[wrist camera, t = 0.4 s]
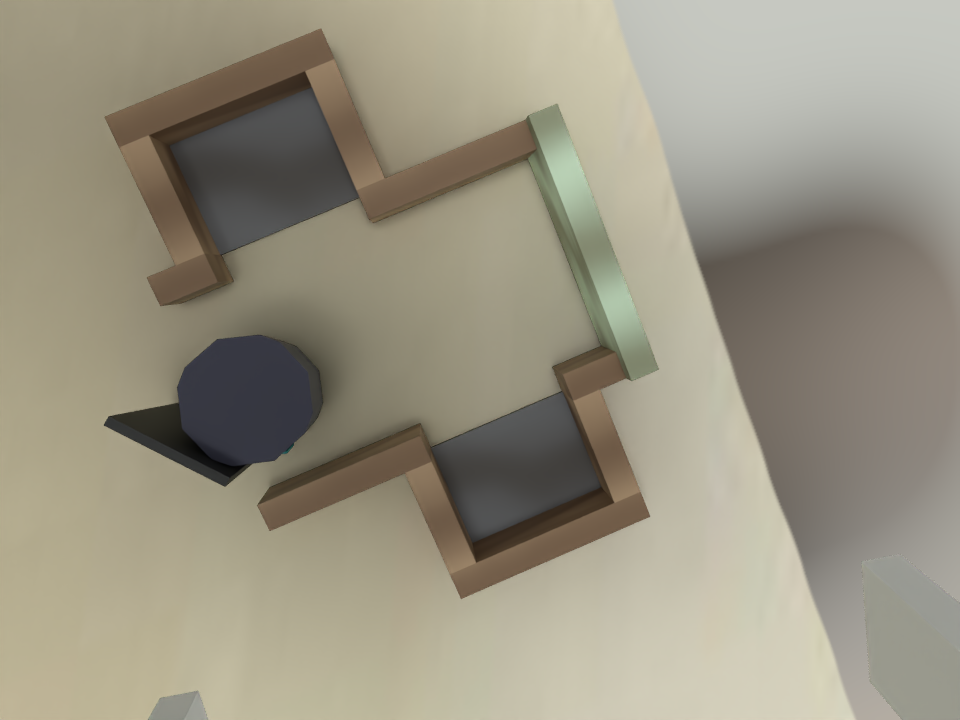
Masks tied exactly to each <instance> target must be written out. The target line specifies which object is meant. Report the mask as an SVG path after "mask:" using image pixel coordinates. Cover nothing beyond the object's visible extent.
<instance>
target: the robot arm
mask: <svg viewBox="0 0 960 720" xmlns="http://www.w3.org/2000/svg"><path fill="white" fill-rule="evenodd" d="M861 564H862V578H863V592H864V606H865V621H866V635H867V650H868V662H869V663H868V664H869V678H870V682H871V684H872V685H873V686H874V687H875V688H876V690H877V691H878V692H879V693H880V694H881V695H882V697H883V698H884V699H885V700H886V702H887V703H888V704H889V705H890V706H891V707H892V709H893V710H894V711H895V712H896V713H897V714H898V716H899V717H900V718H901V719H902V720H960V602H958V601H957V600H956V599H955V598H953V597H952V596H951V595H950V594H949V593H947V592H946V591H945V590H944V589H942V588H941V587H940V586H939V585H938V584H936V583H935V582H934V581H933V580H931V579H930V578H929V577H928V576H927V575H925V574H924V573H923V572H922V571H920V570H919V569H918V568H917V567H916V566H914V565H913V564H912V563H911V562H909V561H908V560H907V559H906V558H904V557H903V556H902V555H901V554H898V555H893V556H888V557H882V558H878V559H872V560H867V561H862V562H861ZM148 720H208V717H207V714H206V711H205V708H204V705H203V703H202V700H201V697H200V694H199V691H194V692H189V693H184V694H179V695H174V696H169V697H163V698H160V699H159V701H158V703H157V704H156V706H155V708H154V710H153V712H152V713H151V715H150V717H149V719H148Z"/></svg>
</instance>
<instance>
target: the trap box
mask: <svg viewBox="0 0 960 720" xmlns="http://www.w3.org/2000/svg"><path fill="white" fill-rule="evenodd" d="M105 119H106V121H107V123H108V125H109V127H110V130H111V132H112V134H113V136H114V138H115V140H116V142H117V144H118V146H119V148H120V150H121V153H122V155H123V157H124V159H125V161H126V163H127V165H128V167H129V169H130V171H131V173H132V176H133V178H134V180H135V182H136V184H137V186H138V188H139V190H140V192H141V194H142V196H143V199H144V201H145V203H146V205H147V207H148V209H149V211H150V213H151V215H152V217H153V220H154V222H155V224H156V226H157V228H158V230H159V232H160V234H161V236H162V238H163V240H164V243H165V245H166V247H167V249H168V251H169V253H170V255H171V257H172V259H173V261H174V263H175V266H173V267H171V268H168V269H166V270H163V271H161V272H159V273H156V274H154V275H151V276H149V277H147V279H148V281H149V283H150V285H151V288H152V290H153V292H154V294H155V296H156V298H157V300H158V302H159V304H160V306H165V305H173V304H180V303H183V302H186V301H188V300H190V299H193V298H195V297H198V296H200V295H202V294H205V293H207V292H210V291H212V290H214V289H217V288H219V287H221V286H224V285H226V284H229V283H231V282H233V279H232V277H231V275H230V272H229V270H228V268H227V266H226V264H225V262H224V260H223V257H222V255H223V254H225V253H227V252H230V251H232V250H235V249H237V248H239V247H242V246H244V245H247V244H249V243H251V242H254V241H256V240H259V239H261V238H263V237H266V236H268V235H271V234H273V233H275V232H278V231H280V230H283V229H285V228H287V227H290V226H292V225H295V224H297V223H299V222H302V221H304V220H307V219H309V218H311V217H314V216H316V215H319V214H321V213H323V212H326V211H328V210H331V209H333V208H335V207H338V206H340V205H343V204H345V203H347V202H350V201H352V200H355V199H357V198H360V199H361V202H362V204H363V206H364V209H365V211H366V213H367V215H368V218H369V220H370V221H371V222H372V223H375V222H377V221H380V220H382V219H384V218H387V217H389V216H392V215H394V214H396V213H399V212H401V211H403V210H406V209H408V208H411V207H413V206H415V205H418V204H420V203H423V202H425V201H427V200H430V199H432V198H435V197H437V196H439V195H442V194H444V193H447V192H449V191H451V190H454V189H456V188H459V187H461V186H463V185H466V184H468V183H471V182H473V181H475V180H478V179H480V178H483V177H485V176H487V175H490V174H492V173H494V172H497V171H499V170H502V169H504V168H506V167H509V166H511V165H514V164H516V163H518V162H521V161H523V160H526V159H528V160H529V163H530V165H531V168H532V170H533V173H534V175H535V178H536V180H537V183H538V185H539V188H540V191H541V193H542V196H543V198H544V201H545V203H546V206H547V208H548V211H549V213H550V216H551V219H552V221H553V224H554V226H555V229H556V231H557V234H558V236H559V239H560V242H561V244H562V247H563V249H564V252H565V254H566V257H567V259H568V262H569V264H570V267H571V270H572V272H573V275H574V277H575V280H576V282H577V285H578V287H579V290H580V292H581V295H582V298H583V300H584V303H585V305H586V308H587V310H588V313H589V315H590V318H591V321H592V323H593V326H594V328H595V331H596V333H597V336H598V338H599V341H600V343H601V346H600V347H598V348H596V349H593V350H591V351H589V352H586V353H584V354H581V355H579V356H577V357H574V358H572V359H570V360H567V361H565V362H563V363H560V364H558V365H556V366H553V370H554V372H555V375H556V377H557V380H558V382H559V385H560V387H561V390H562V392H559V393H557V394H555V395H552V396H550V397H548V398H545V399H543V400H541V401H538V402H536V403H534V404H531V405H529V406H527V407H524V408H522V409H520V410H517V411H515V412H513V413H510V414H508V415H506V416H503V417H501V418H499V419H496V420H494V421H492V422H489V423H487V424H485V425H482V426H480V427H478V428H475V429H473V430H471V431H468V432H466V433H464V434H461V435H459V436H457V437H454V438H452V439H450V440H447V441H445V442H443V443H440V444H438V445H436V446H433V447H430V445H429V443H428V440H427V438H426V436H425V433H424V431H423V429H422V427H421V424H418V425H415V426H413V427H411V428H408V429H406V430H403V431H401V432H399V433H396V434H394V435H392V436H389V437H387V438H385V439H382V440H380V441H378V442H375V443H373V444H371V445H368V446H366V447H364V448H361V449H359V450H357V451H354V452H352V453H350V454H347V455H345V456H343V457H340V458H338V459H336V460H333V461H331V462H329V463H326V464H324V465H322V466H319V467H317V468H315V469H312V470H310V471H307V472H305V473H303V474H300V475H298V476H296V477H293V478H291V479H289V480H286V481H284V482H282V483H279V484H277V485H275V486H272V487H270V488H269V489H268V491H267V492H266V493H265V495H264V496H263V498H262V499H261V501H260V502H259V503H258V505H257V506H258V508H259V510H260V512H261V514H262V516H263V518H264V520H265V522H266V524H267V526H268V529H269V531H271V530H273V529H276V528H278V527H280V526H283V525H285V524H287V523H290V522H292V521H294V520H297V519H299V518H301V517H304V516H306V515H308V514H311V513H313V512H315V511H318V510H320V509H322V508H325V507H327V506H329V505H332V504H334V503H336V502H339V501H341V500H343V499H346V498H348V497H350V496H353V495H355V494H357V493H360V492H362V491H364V490H367V489H369V488H371V487H374V486H376V485H378V484H381V483H383V482H385V481H388V480H390V479H392V478H395V477H397V476H399V475H402V474H404V473H405V475H406V477H407V479H408V482H409V484H410V486H411V488H412V491H413V493H414V495H415V497H416V499H417V502H418V504H419V506H420V508H421V511H422V513H423V515H424V517H425V520H426V522H427V524H428V526H429V528H430V531H431V533H432V535H433V537H434V540H435V542H436V544H437V546H438V549H439V551H440V553H441V555H442V557H443V560H444V562H445V564H446V566H447V569H448V571H449V573H450V575H451V578H452V580H453V582H454V584H455V586H456V589H457V591H458V593H459V595H460V598H461V599H462V598H464V597H466V596H469V595H471V594H473V593H476V592H478V591H480V590H483V589H485V588H487V587H489V586H492V585H494V584H496V583H499V582H501V581H503V580H506V579H508V578H510V577H512V576H515V575H517V574H519V573H522V572H524V571H526V570H529V569H531V568H533V567H535V566H538V565H540V564H542V563H545V562H547V561H549V560H551V559H554V558H556V557H558V556H561V555H563V554H565V553H568V552H570V551H572V550H574V549H577V548H579V547H581V546H584V545H586V544H588V543H591V542H593V541H595V540H597V539H600V538H602V537H604V536H607V535H609V534H611V533H614V532H616V531H618V530H620V529H623V528H625V527H627V526H630V525H632V524H634V523H636V522H639V521H641V520H643V519H646V518H648V517H650V515H649V512H648V510H647V507H646V505H645V502H644V499H643V497H642V494H641V492H640V489H639V487H638V484H637V482H636V479H635V477H634V474H633V472H632V469H631V467H630V464H629V462H628V459H627V457H626V454H625V452H624V449H623V447H622V444H621V441H620V439H619V436H618V434H617V431H616V429H615V426H614V424H613V421H612V419H611V416H610V414H609V411H608V409H607V406H606V404H605V401H604V399H603V396H602V394H601V391H600V389H602V388H605V387H607V386H609V385H612V384H614V383H616V382H619V381H621V380H623V379H626V378H627V379H629V380H631V381H633V380H636V379H638V378H640V377H643V376H645V375H647V374H650V373H652V372H654V371H657V370H659V368H658V366H657V363H656V361H655V358H654V355H653V353H652V350H651V348H650V345H649V342H648V340H647V337H646V334H645V332H644V329H643V327H642V324H641V321H640V319H639V316H638V313H637V311H636V308H635V306H634V303H633V300H632V298H631V295H630V293H629V290H628V287H627V285H626V282H625V279H624V277H623V274H622V272H621V269H620V266H619V264H618V261H617V258H616V256H615V253H614V251H613V248H612V245H611V243H610V240H609V238H608V235H607V232H606V230H605V227H604V224H603V222H602V219H601V217H600V214H599V211H598V209H597V206H596V203H595V201H594V198H593V196H592V193H591V190H590V188H589V185H588V182H587V180H586V177H585V175H584V172H583V169H582V167H581V164H580V162H579V159H578V156H577V154H576V151H575V148H574V146H573V143H572V141H571V138H570V135H569V133H568V130H567V127H566V125H565V122H564V120H563V117H562V114H561V112H560V109H559V107H558V104H555V105H553V106H550V107H548V108H545V109H543V110H541V111H538V112H536V113H533V114H531V115H529V116H528V117H527V119H526V120H524V121H522V122H519V123H517V124H515V125H512V126H510V127H507V128H505V129H503V130H500V131H498V132H495V133H493V134H490V135H488V136H486V137H483V138H481V139H478V140H476V141H474V142H471V143H469V144H466V145H464V146H462V147H459V148H457V149H454V150H452V151H450V152H447V153H445V154H442V155H440V156H438V157H435V158H433V159H430V160H428V161H426V162H423V163H421V164H418V165H416V166H414V167H411V168H409V169H406V170H404V171H402V172H399V173H397V174H394V175H392V176H390V177H387V178H385V177H384V175H383V173H382V170H381V168H380V166H379V163H378V161H377V159H376V156H375V154H374V152H373V149H372V147H371V144H370V142H369V140H368V137H367V135H366V133H365V130H364V128H363V126H362V123H361V121H360V119H359V116H358V114H357V111H356V109H355V107H354V104H353V102H352V100H351V97H350V95H349V93H348V90H347V88H346V86H345V83H344V81H343V78H342V76H341V74H340V71H339V69H338V67H337V64H336V62H335V60H334V57H333V55H332V53H331V50H330V48H329V46H328V43H327V41H326V38H325V36H324V34H323V31H322V29H318V30H316V31H314V32H311V33H309V34H306V35H304V36H301V37H299V38H296V39H294V40H292V41H289V42H287V43H284V44H282V45H279V46H277V47H274V48H272V49H269V50H267V51H265V52H262V53H260V54H257V55H255V56H252V57H250V58H247V59H245V60H243V61H240V62H238V63H235V64H233V65H230V66H228V67H225V68H223V69H220V70H218V71H216V72H213V73H211V74H208V75H206V76H203V77H201V78H198V79H196V80H194V81H191V82H189V83H186V84H184V85H181V86H179V87H176V88H174V89H172V90H169V91H167V92H164V93H162V94H159V95H157V96H154V97H152V98H149V99H147V100H145V101H142V102H140V103H137V104H135V105H132V106H130V107H127V108H125V109H123V110H120V111H118V112H115V113H113V114H110V115H108V116H105Z"/></svg>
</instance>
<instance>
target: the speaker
mask: <svg viewBox="0 0 960 720" xmlns="http://www.w3.org/2000/svg"><path fill="white" fill-rule="evenodd" d="M177 390H178V398H179V404H178V403H175V404H170V405H165V406H160V407H155V408H149V409H144V410H139V411H134V412H129V413H124V414H118V415H113V416H109V417H108V419H107V420H106V422H105V424H104V426H106V427H108V428H110V429H112V430H114V431H116V432H118V433H120V434H122V435H124V436H126V437H128V438H130V439H132V440H134V441H136V442H138V443H140V444H142V445H144V446H146V447H147V448H149V449H151V450H153V451H155V452H157V453H159V454H161V455H163V456H165V457H167V458H169V459H171V460H173V461H175V462H177V463H179V464H181V465H183V466H185V467H187V468H189V469H191V470H193V471H195V472H197V473H199V474H201V475H203V476H205V477H207V478H209V479H211V480H213V481H215V482H217V483H219V484H221V485H223V486H224V487H225V486H227V485H228V484H229V483H230V482H231V481H233V480H234V479H235V478H236V477H237V476H238V475H240V474H241V473H242V472H243V471H244V470H246V469H247V468H248V467H249V466H250V465H252V464H253V463H260V462H268V461H275V460H276V459H277V458H278V457H279V456H280V455H281V454H286V453H288V452H289V450H290V449H291V448H292V447H293V445H294V442H295V441H297V440H298V439H299V438H300V437H301V436H302V435H303V434H304V433H305V432H306V431H307V430H308V429H309V428H310V426H311V425H312V424H313V423H314V422H315V420H316V419H317V417H318V415H319V412H320V409H321V407H322V404H323V400H322V391H321V383H320V374H319V370H318V369H317V368H316V367H315V366H314V365H313V364H312V363H311V361H310V360H309V359H308V358H307V357H306V356H305V355H304V354H303V353H302V352H301V351H300V350H299V349H298V348H297V347H296V346H294V345H291V344H288V343H286V342H283V341H280V340H276V339H273V338H269V337H266V336H262V335H253V336H244V337H234V338H225V339H217V340H216V341H215V342H213V343H212V344H211V345H210V346H209V347H208V348H207V349H205V350H204V351H203V352H202V353H201V354H200V355H199V356H197V357H196V358H195V359H194V360H193V361H192V362H191V363H189V364H188V365H187V366H186V367H185V369H184V371H183V374H182V376H181V379H180V381H179V384H178V387H177Z"/></svg>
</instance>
